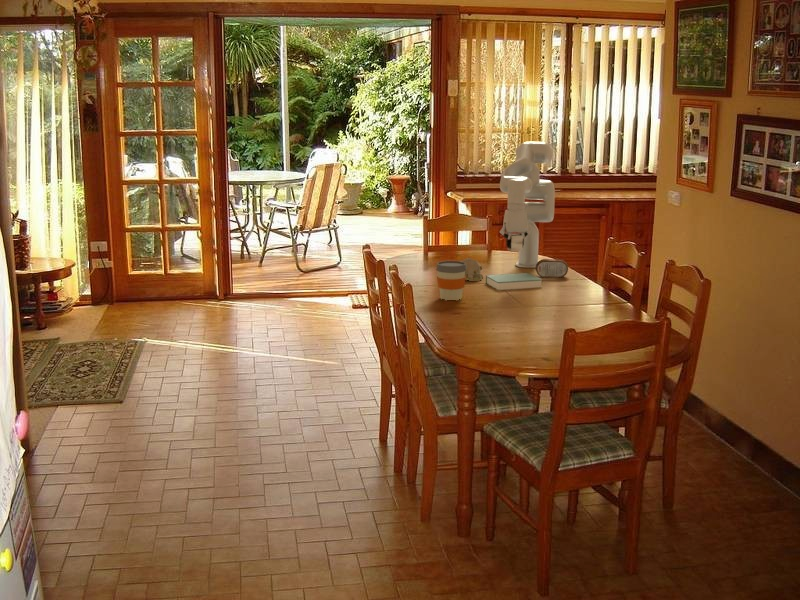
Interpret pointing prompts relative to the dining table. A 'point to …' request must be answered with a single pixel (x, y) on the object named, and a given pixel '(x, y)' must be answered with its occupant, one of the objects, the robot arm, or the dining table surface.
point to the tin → (551, 268)
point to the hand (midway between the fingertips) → (514, 247)
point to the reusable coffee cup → (451, 279)
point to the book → (513, 281)
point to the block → (516, 243)
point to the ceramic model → (472, 270)
